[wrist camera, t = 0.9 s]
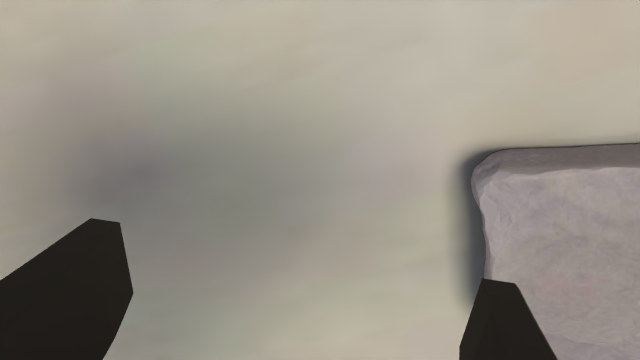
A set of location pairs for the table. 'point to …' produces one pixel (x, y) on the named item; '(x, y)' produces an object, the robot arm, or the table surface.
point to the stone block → (568, 242)
